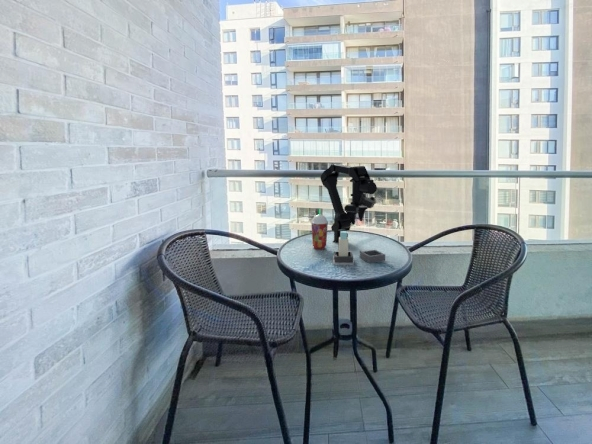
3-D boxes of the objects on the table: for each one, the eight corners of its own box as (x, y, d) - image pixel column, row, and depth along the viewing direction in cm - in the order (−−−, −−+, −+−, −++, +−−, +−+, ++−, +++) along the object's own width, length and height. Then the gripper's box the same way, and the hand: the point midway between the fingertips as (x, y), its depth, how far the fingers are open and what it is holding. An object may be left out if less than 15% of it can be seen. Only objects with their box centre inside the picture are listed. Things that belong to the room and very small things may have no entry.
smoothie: (329, 246, 210) (329, 208, 205) (325, 250, 202) (325, 211, 198) (313, 245, 212) (313, 207, 208) (309, 249, 205) (309, 210, 200)
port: (333, 258, 190) (333, 251, 189) (352, 258, 189) (352, 251, 188) (333, 264, 181) (333, 257, 180) (353, 265, 180) (354, 257, 180)
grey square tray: (359, 257, 191) (359, 251, 190) (375, 255, 193) (375, 249, 193) (368, 263, 183) (369, 256, 182) (385, 260, 186) (385, 254, 185)
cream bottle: (338, 258, 187) (339, 230, 184) (347, 258, 187) (347, 230, 184) (338, 260, 183) (339, 232, 180) (347, 261, 183) (348, 232, 180)
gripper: (365, 195, 189) (365, 228, 192) (380, 190, 204) (379, 220, 208) (344, 193, 195) (343, 225, 198) (359, 189, 210) (359, 218, 213)
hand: (357, 222), depth 204 cm, fingers open, 9 cm apart
